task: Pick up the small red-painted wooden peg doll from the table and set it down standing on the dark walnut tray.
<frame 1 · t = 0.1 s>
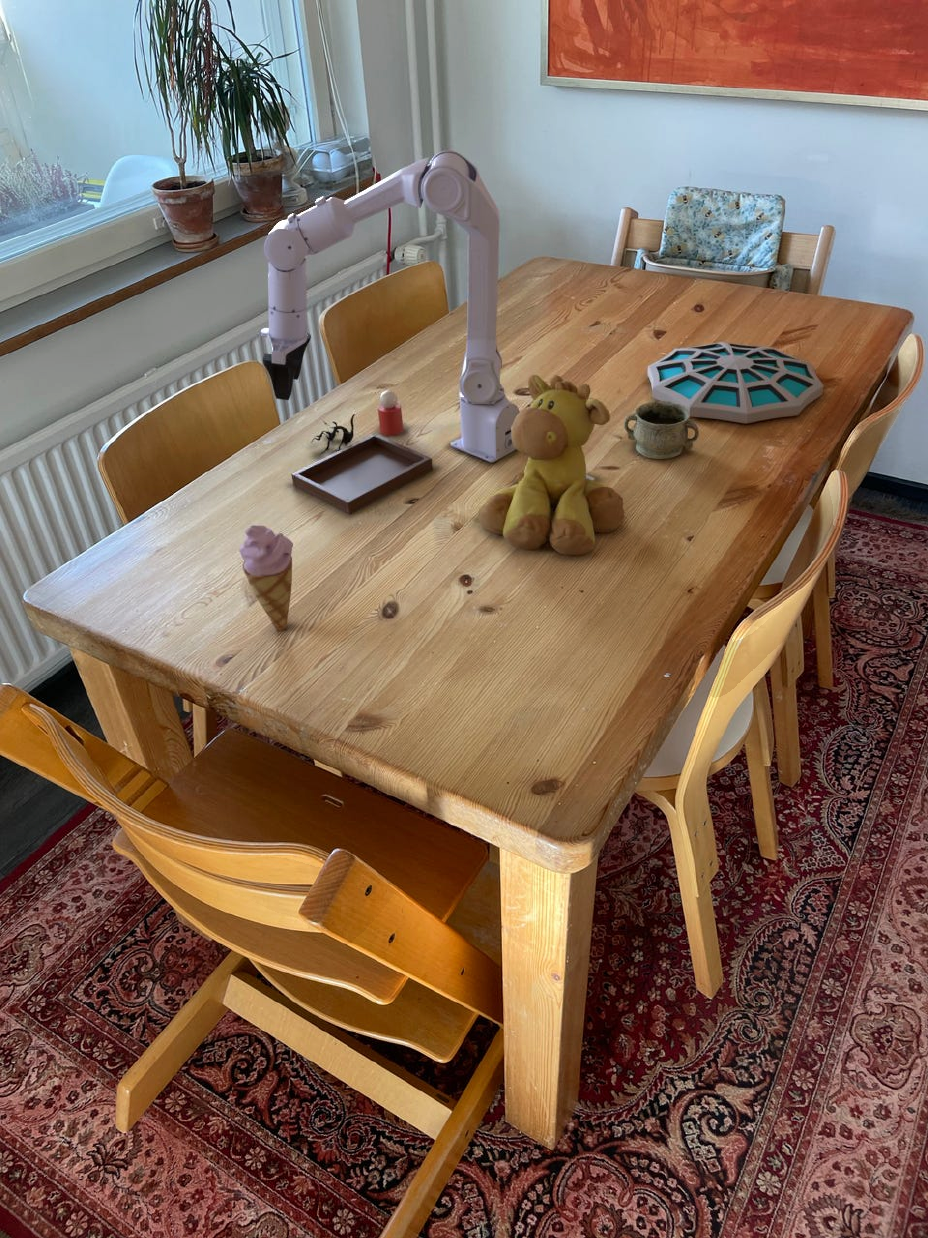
hand: (287, 388, 151), 11 cm above the table, tool pointing down, fingers open, 7 cm apart
giraffe plush: (553, 517, 137), on the table
ice cream cone: (282, 627, 120), on the table
vessel: (659, 449, 152), on the table
tray: (363, 477, 149), on the table
creature: (333, 447, 158), on the table
peg doll: (391, 430, 161), on the table
decorative platform: (731, 388, 168), on the table
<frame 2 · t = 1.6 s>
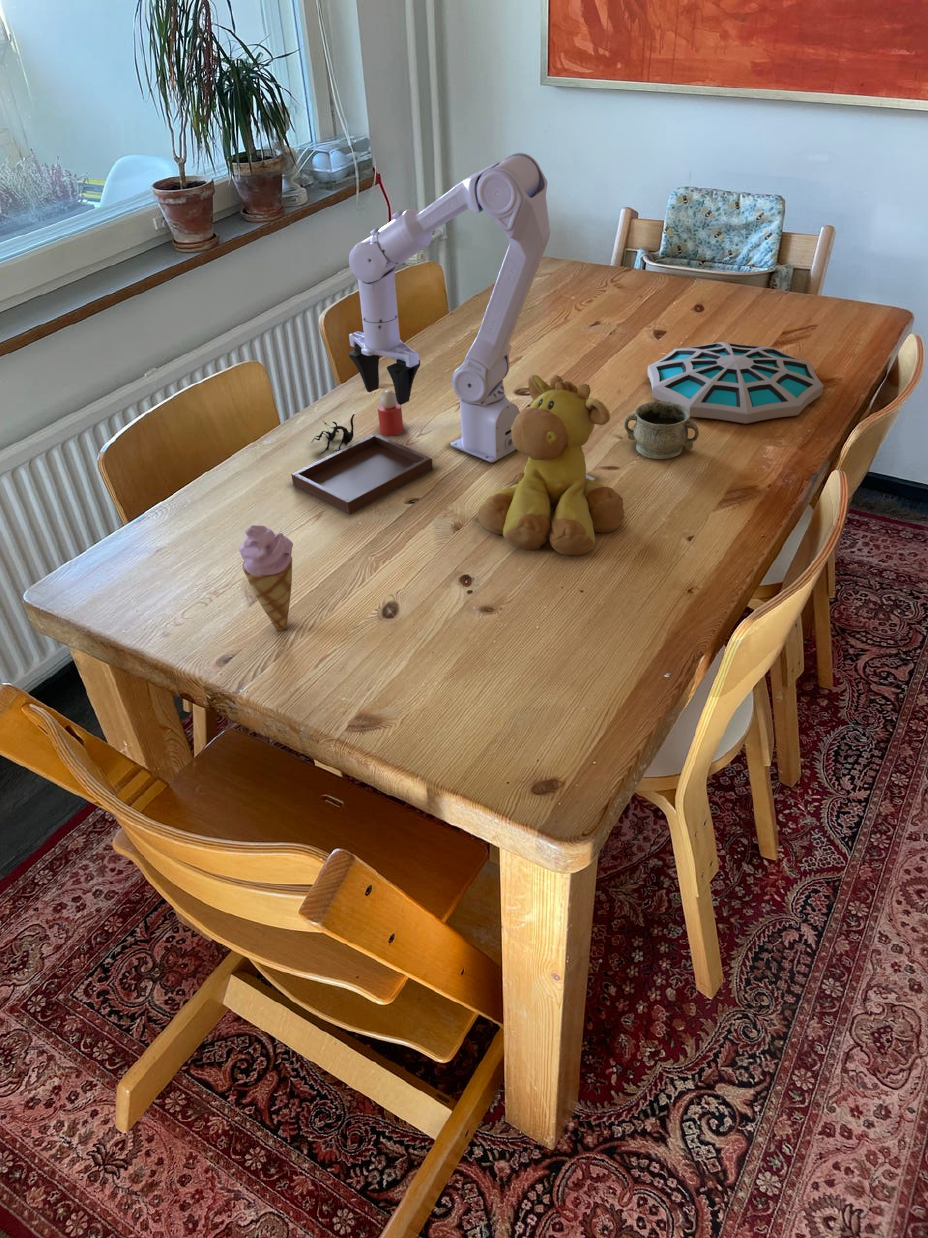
hand: (388, 396, 157), 6 cm above the table, tool pointing down, fingers open, 7 cm apart
nothing on the table moved.
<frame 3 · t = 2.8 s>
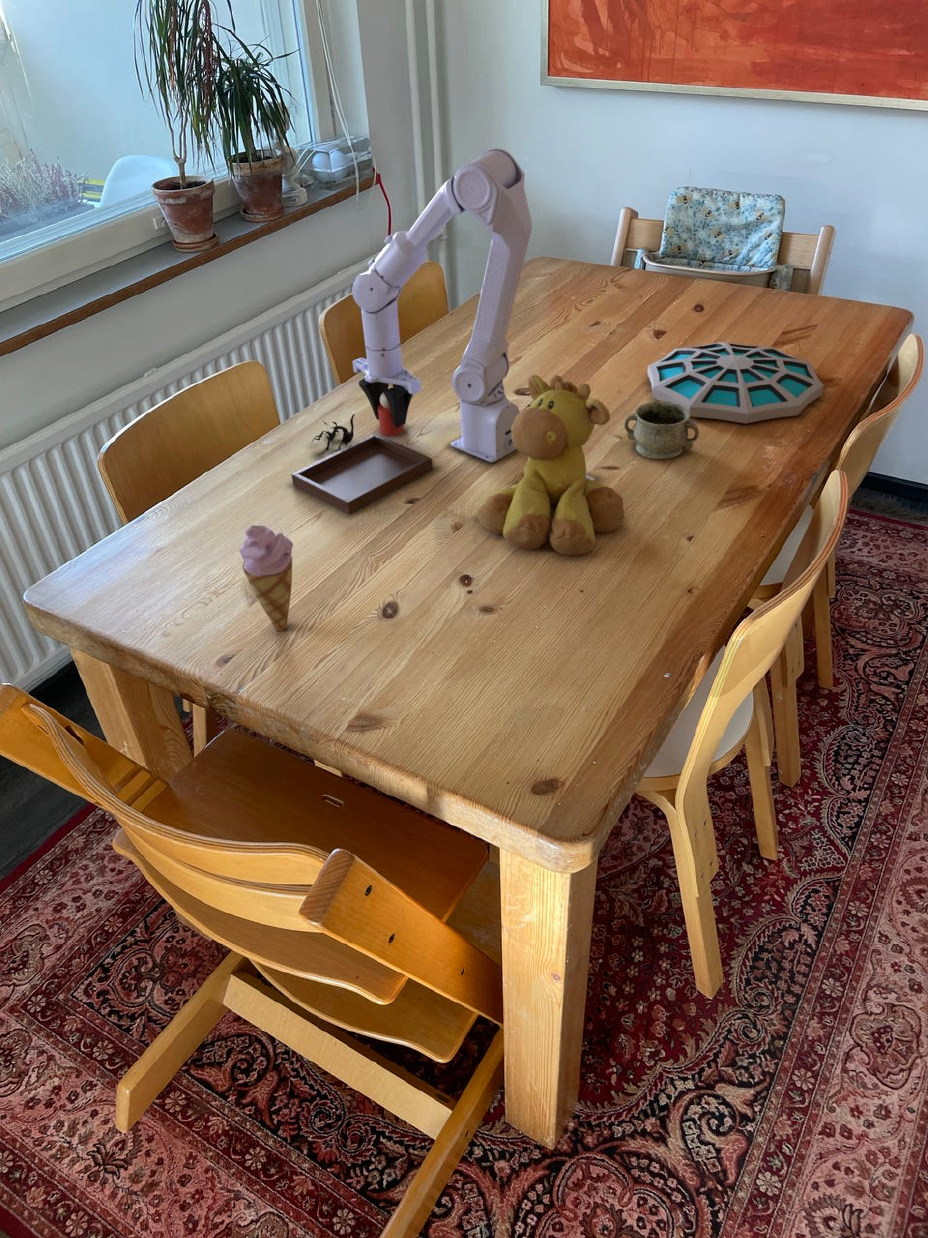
hand: (390, 421, 160), 2 cm above the table, tool pointing down, fingers closed on peg doll, 4 cm apart
peg doll: (391, 430, 161), on the table, touching gripper
everything else where it was.
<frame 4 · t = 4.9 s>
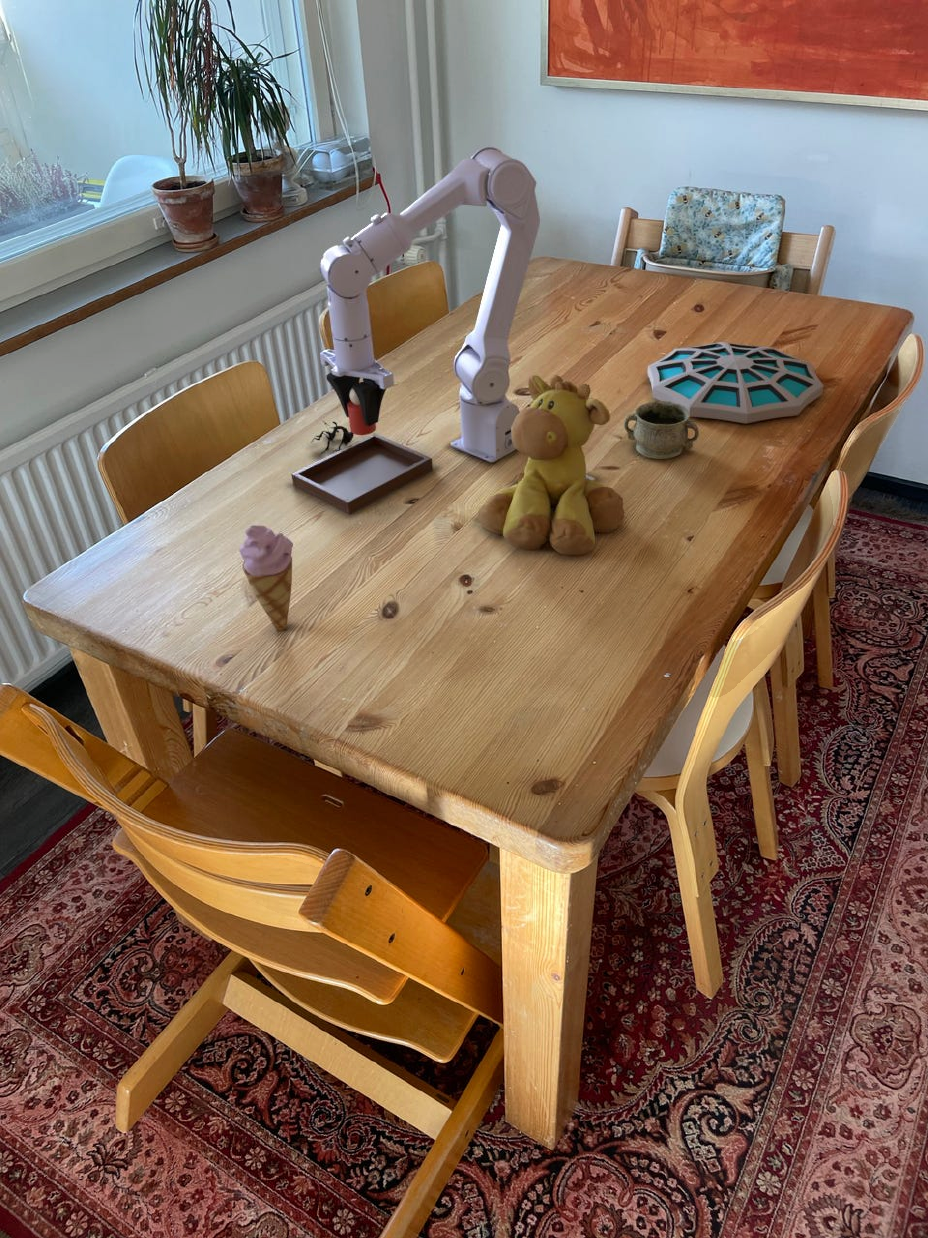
hand: (362, 419, 145), 9 cm above the table, tool pointing down, fingers closed on peg doll, 4 cm apart
peg doll: (363, 429, 146), point 7 cm above the table, touching gripper
everything else where it was.
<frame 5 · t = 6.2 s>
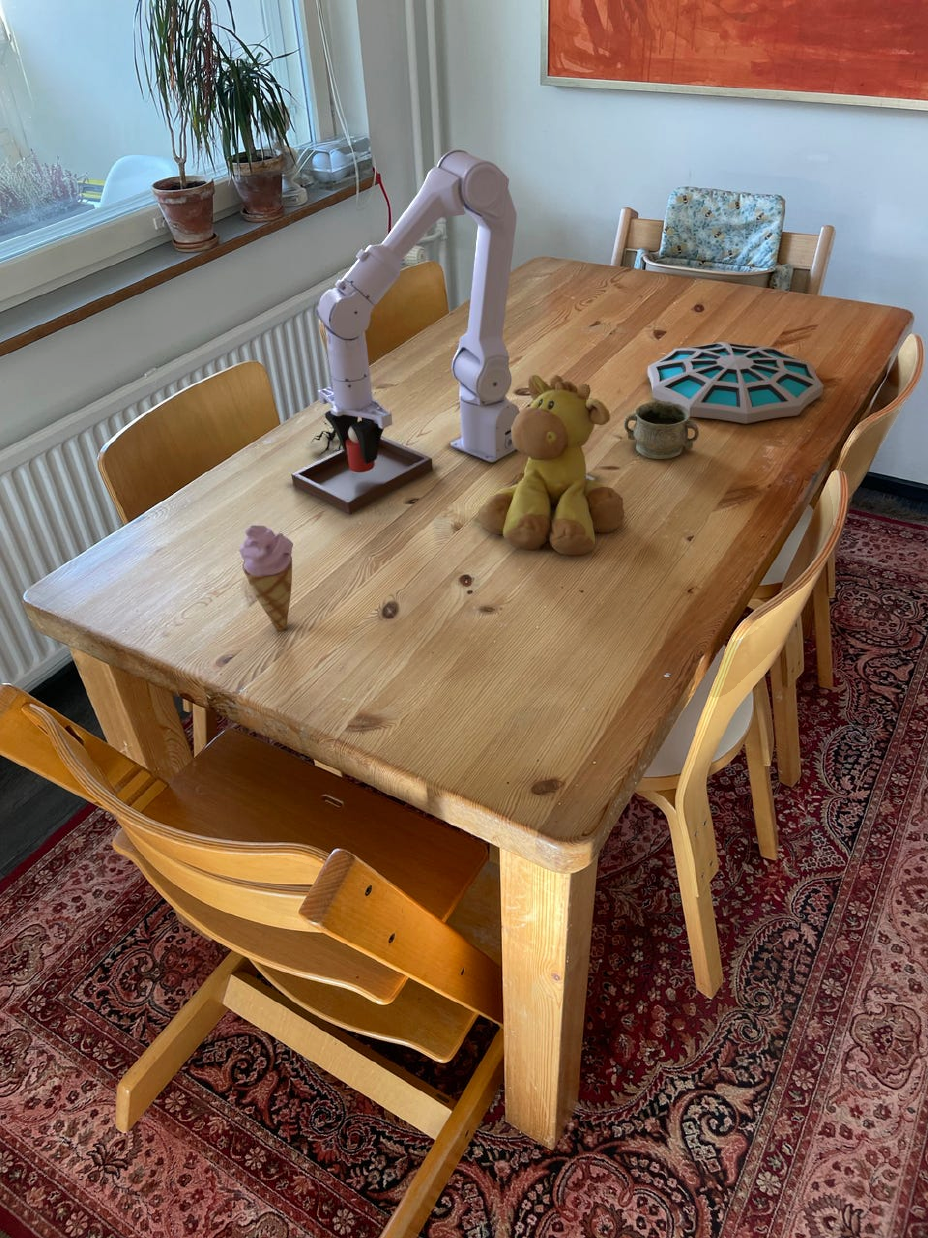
hand: (360, 456, 146), 4 cm above the table, tool pointing down, fingers closed on peg doll, 4 cm apart
peg doll: (361, 466, 147), point 2 cm above the table, touching gripper
everything else where it was.
when the fingers open (2 cm above the table, at t = 7.1 s): peg doll stays where it is, resting on tray.
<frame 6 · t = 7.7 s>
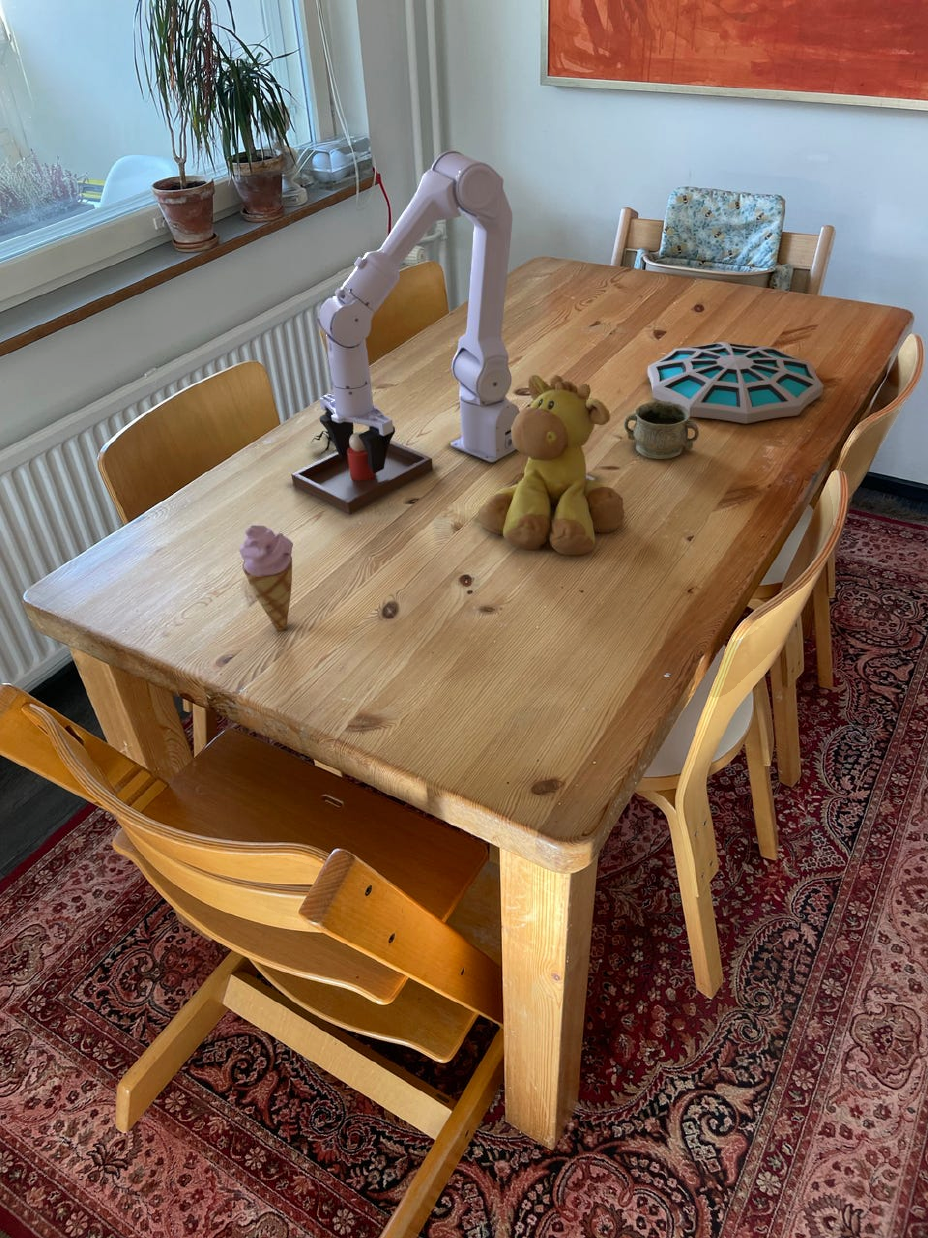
hand: (361, 462, 147), 3 cm above the table, tool pointing down, fingers open, 7 cm apart
peg doll: (363, 474, 148), point 1 cm above the table, touching tray
everything else where it was.
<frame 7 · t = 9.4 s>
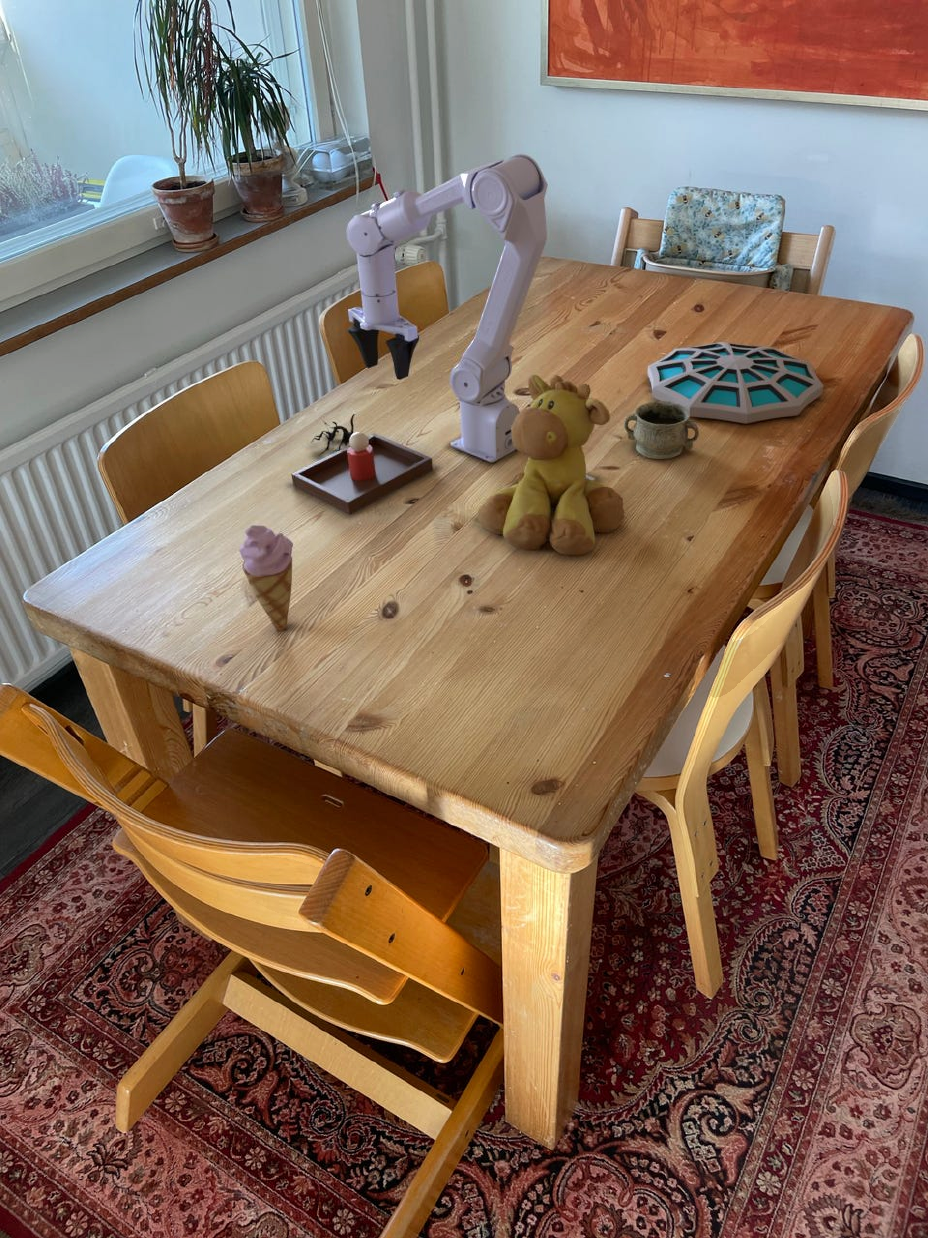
hand: (387, 371, 158), 9 cm above the table, tool pointing down, fingers open, 7 cm apart
nothing on the table moved.
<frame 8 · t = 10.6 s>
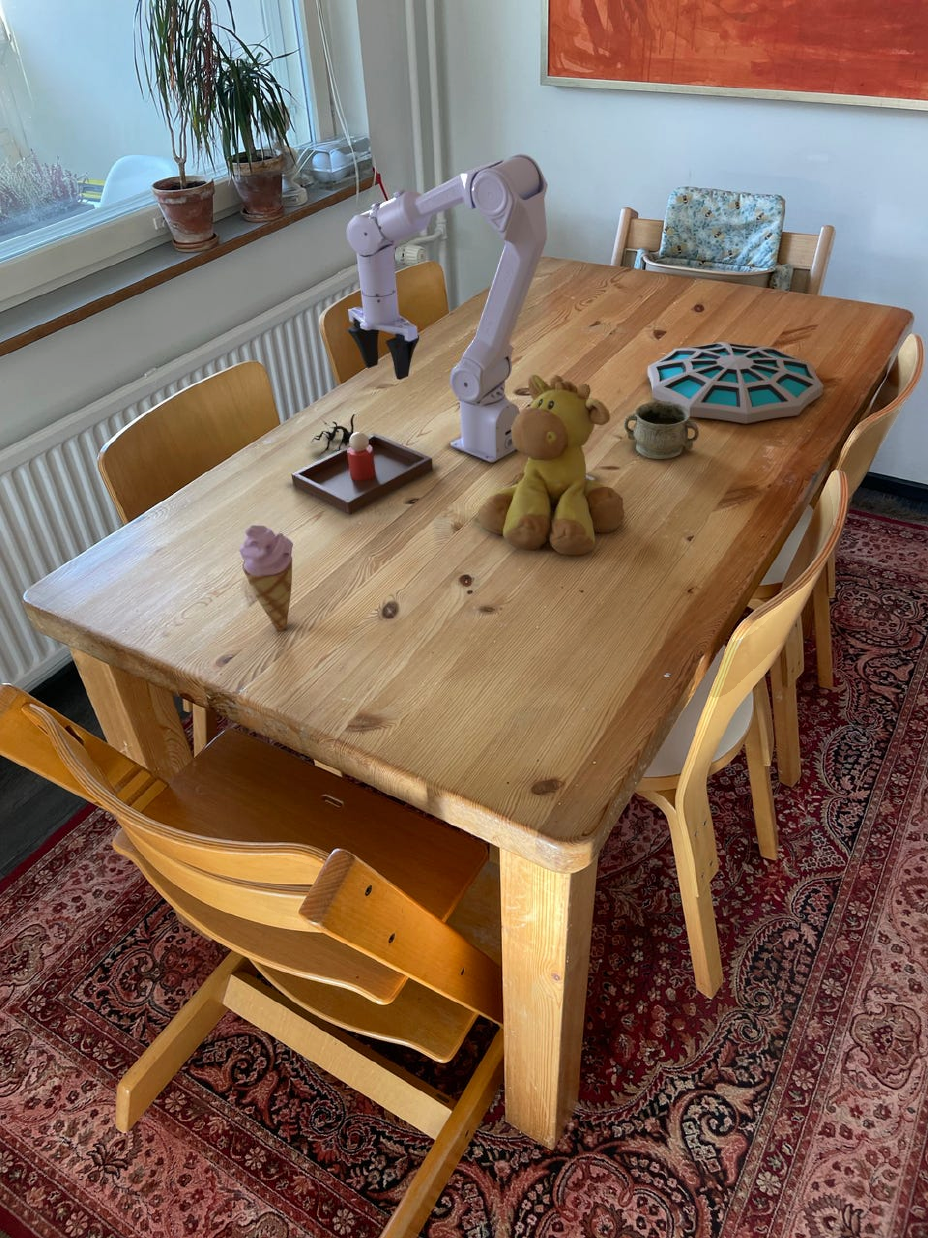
hand: (387, 371, 158), 9 cm above the table, tool pointing down, fingers open, 7 cm apart
nothing on the table moved.
at the end: peg doll inside the target area in the tray (0.0 cm from its centre), point 0.6 cm above the tray's base; peg doll tilted 0°; the gripper is holding nothing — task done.
